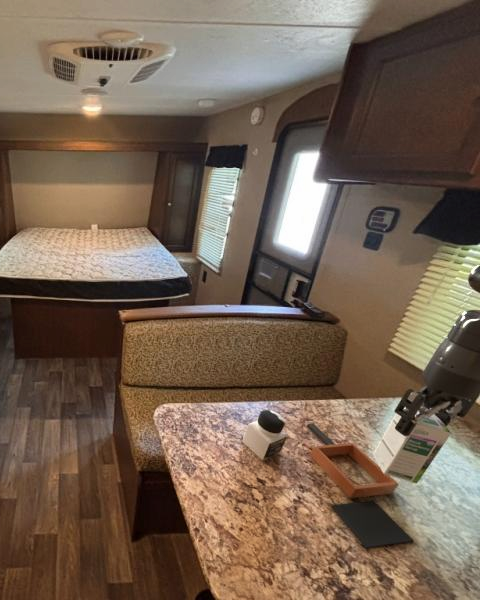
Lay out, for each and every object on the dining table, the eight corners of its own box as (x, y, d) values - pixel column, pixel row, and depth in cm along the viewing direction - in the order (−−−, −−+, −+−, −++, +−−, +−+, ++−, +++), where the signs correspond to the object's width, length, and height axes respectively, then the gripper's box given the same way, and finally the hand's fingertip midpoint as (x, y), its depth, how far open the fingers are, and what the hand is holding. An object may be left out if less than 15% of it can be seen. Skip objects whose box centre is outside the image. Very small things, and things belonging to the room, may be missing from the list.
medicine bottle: (262, 461, 86) (276, 429, 81) (241, 441, 92) (252, 410, 87) (280, 453, 89) (294, 421, 84) (258, 434, 95) (270, 404, 90)
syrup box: (383, 475, 67) (416, 424, 62) (371, 453, 73) (400, 404, 67) (417, 484, 66) (453, 433, 60) (402, 461, 71) (434, 412, 65)
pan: (324, 429, 98) (328, 421, 97) (392, 493, 80) (399, 484, 78) (288, 432, 96) (292, 424, 95) (349, 498, 78) (355, 489, 76)
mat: (372, 501, 77) (373, 500, 77) (412, 541, 69) (413, 540, 69) (330, 506, 76) (331, 505, 76) (366, 548, 68) (367, 547, 67)
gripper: (453, 380, 54) (407, 449, 60) (520, 377, 56) (468, 444, 62) (406, 355, 60) (370, 419, 67) (467, 353, 62) (426, 415, 69)
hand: (417, 431), depth 65 cm, fingers closed on syrup box, 7 cm apart
